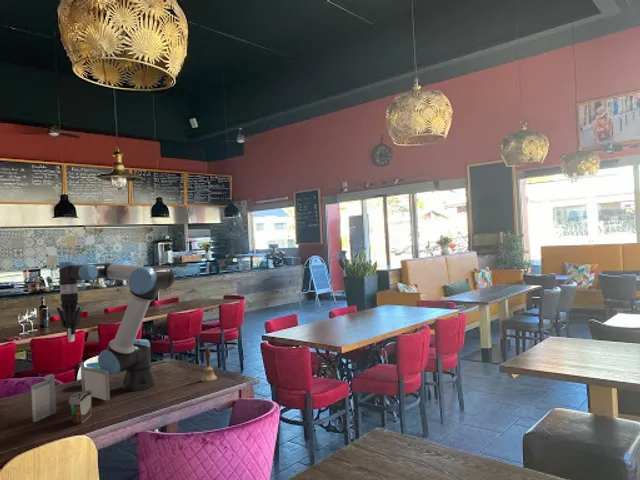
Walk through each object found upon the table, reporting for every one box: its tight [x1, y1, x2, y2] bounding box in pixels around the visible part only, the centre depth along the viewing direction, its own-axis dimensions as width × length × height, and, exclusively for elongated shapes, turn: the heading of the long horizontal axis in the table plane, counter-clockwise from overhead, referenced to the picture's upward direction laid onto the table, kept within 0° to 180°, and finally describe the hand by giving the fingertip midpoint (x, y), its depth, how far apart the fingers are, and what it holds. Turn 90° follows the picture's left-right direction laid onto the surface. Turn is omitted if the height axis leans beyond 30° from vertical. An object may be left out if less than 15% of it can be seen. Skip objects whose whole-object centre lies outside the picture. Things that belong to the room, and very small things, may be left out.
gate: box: [83, 366, 111, 401], centre depth 214 cm, size 2×18×13 cm, turn 54°
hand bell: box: [199, 347, 218, 382], centre depth 239 cm, size 8×8×16 cm
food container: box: [68, 390, 92, 425], centre depth 190 cm, size 12×6×10 cm, turn 5°
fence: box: [30, 361, 87, 423], centre depth 206 cm, size 2×32×16 cm, turn 170°
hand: (71, 341), depth 231 cm, fingers closed
